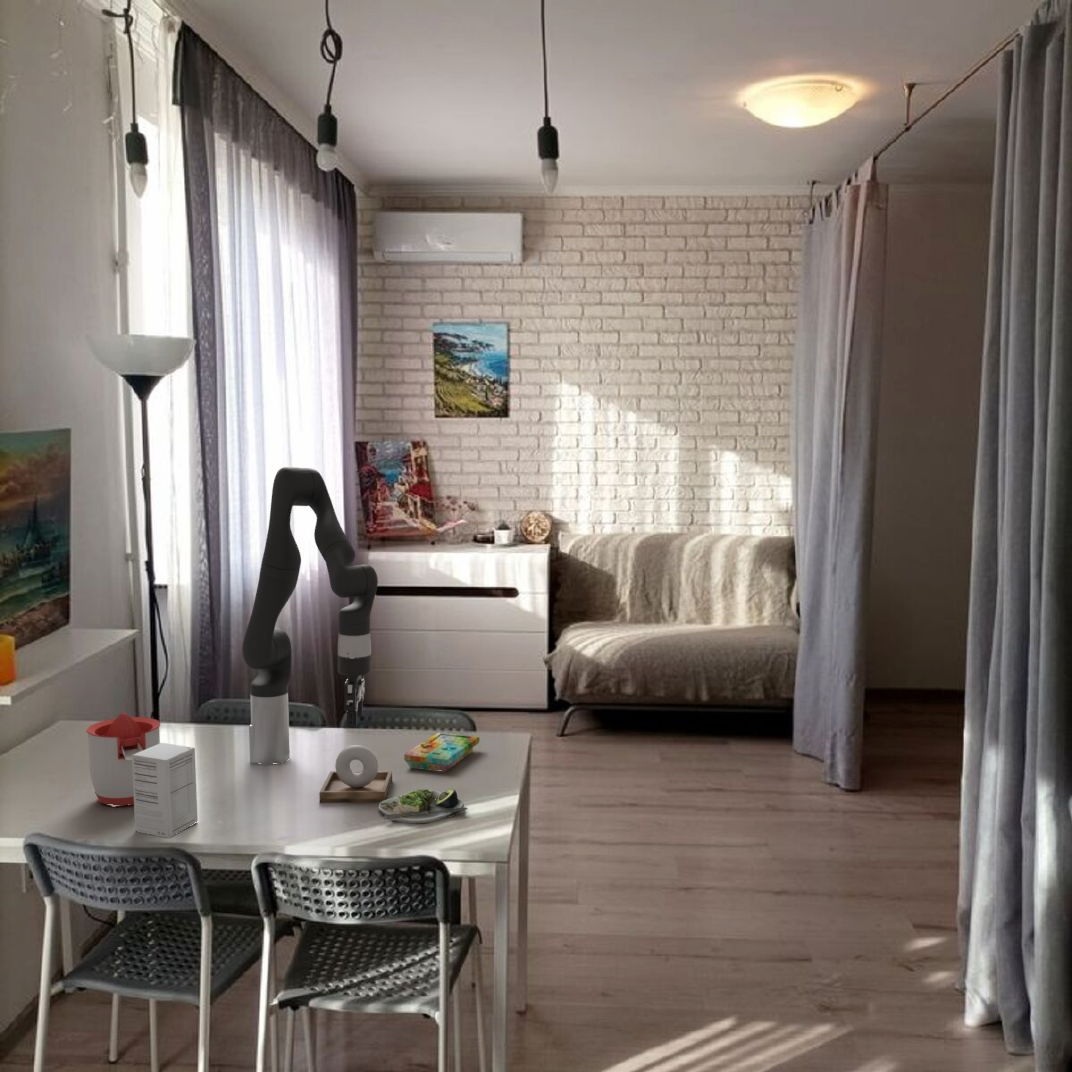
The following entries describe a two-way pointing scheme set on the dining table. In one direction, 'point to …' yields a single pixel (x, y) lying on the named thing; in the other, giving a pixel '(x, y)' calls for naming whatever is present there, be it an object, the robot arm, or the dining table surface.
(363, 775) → the white ring
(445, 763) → the puzzle game
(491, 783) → the dining table surface
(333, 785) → the display tray
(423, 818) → the salad plate
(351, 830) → the dining table surface
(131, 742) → the citrus juicer
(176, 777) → the supplement box
